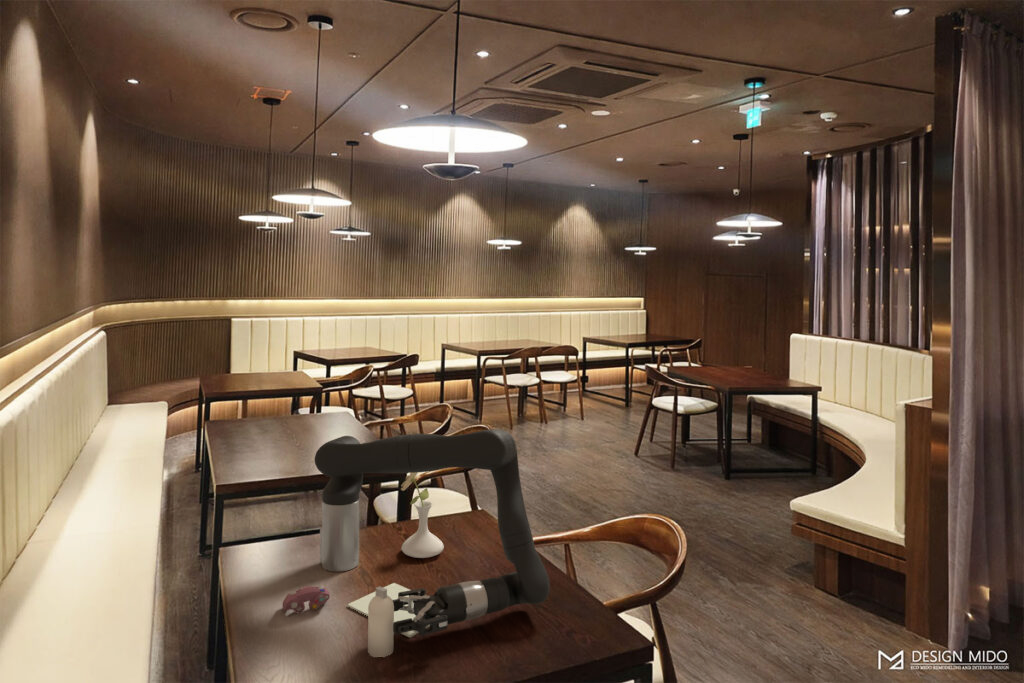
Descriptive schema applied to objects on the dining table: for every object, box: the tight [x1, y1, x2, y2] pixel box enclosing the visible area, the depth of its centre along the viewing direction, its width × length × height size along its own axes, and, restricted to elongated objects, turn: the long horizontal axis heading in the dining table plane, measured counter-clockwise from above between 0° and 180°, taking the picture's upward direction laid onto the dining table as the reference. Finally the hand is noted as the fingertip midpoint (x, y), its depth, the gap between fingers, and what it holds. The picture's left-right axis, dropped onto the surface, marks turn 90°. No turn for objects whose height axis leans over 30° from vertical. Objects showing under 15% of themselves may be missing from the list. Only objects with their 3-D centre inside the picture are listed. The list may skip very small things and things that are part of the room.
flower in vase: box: [400, 472, 445, 559], centre depth 176 cm, size 13×11×25 cm
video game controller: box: [281, 585, 330, 614], centre depth 146 cm, size 10×5×7 cm, turn 118°
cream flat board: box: [347, 582, 430, 639], centre depth 147 cm, size 20×14×1 cm
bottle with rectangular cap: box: [367, 585, 395, 658], centre depth 130 cm, size 5×5×13 cm
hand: (387, 618), depth 131 cm, fingers open, 8 cm apart
